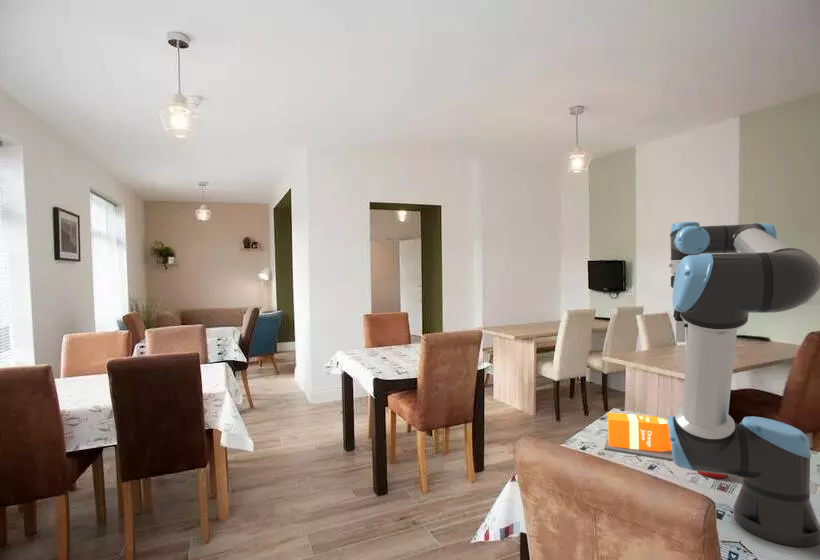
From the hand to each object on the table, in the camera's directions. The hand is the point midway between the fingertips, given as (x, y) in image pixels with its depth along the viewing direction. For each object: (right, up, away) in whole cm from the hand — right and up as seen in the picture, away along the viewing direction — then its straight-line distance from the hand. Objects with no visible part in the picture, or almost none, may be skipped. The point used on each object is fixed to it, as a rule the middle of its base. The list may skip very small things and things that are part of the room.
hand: (685, 345), depth 133 cm
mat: (-7, -35, +11) cm, 37 cm away
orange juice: (-17, -30, +15) cm, 37 cm away
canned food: (+3, -35, -7) cm, 36 cm away
